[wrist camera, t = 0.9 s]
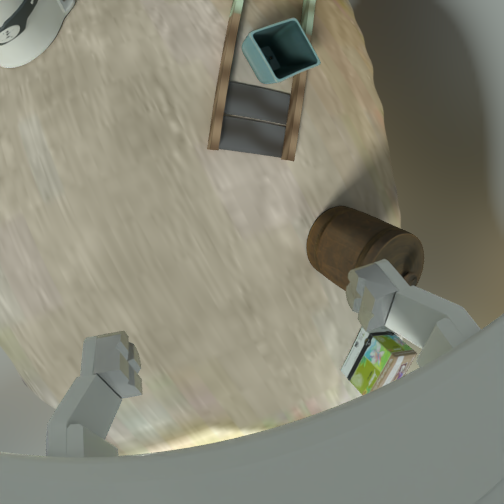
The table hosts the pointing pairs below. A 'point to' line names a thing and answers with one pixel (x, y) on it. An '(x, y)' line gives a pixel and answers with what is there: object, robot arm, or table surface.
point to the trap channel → (256, 103)
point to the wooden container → (361, 245)
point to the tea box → (377, 359)
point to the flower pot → (279, 51)
